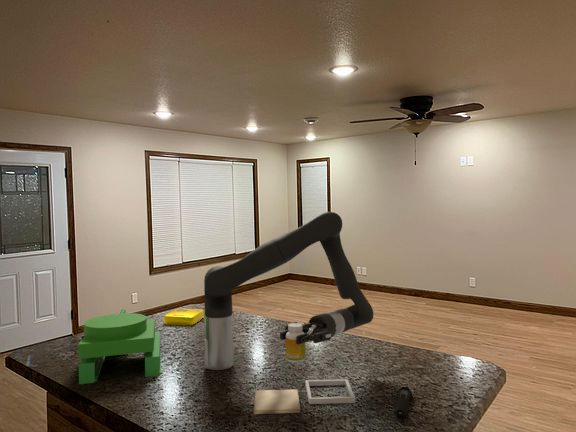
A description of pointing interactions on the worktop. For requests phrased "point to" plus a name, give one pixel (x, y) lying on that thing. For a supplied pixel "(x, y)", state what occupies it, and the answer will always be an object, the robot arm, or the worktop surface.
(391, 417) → the worktop surface
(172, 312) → the element tile
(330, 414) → the worktop surface
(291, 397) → the pad
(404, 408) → the electric trimmer
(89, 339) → the tank
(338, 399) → the square frame
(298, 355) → the supplement bottle
